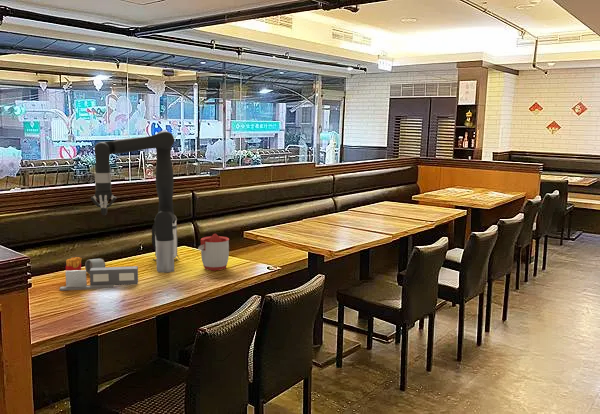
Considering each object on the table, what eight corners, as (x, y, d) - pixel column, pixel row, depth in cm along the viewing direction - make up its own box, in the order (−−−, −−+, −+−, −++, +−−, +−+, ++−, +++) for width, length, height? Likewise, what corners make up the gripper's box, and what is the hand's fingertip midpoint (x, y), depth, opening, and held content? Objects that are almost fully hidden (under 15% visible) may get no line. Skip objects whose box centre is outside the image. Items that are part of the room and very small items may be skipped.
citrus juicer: (193, 267, 299) (193, 232, 296) (221, 263, 309) (221, 229, 306) (204, 274, 286) (204, 237, 284) (234, 270, 296) (234, 234, 293)
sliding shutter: (86, 285, 258) (86, 269, 256) (86, 286, 256) (85, 270, 255) (66, 286, 256) (65, 270, 254) (66, 287, 254) (65, 271, 253)
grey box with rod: (138, 281, 270) (137, 266, 269) (136, 287, 261) (136, 271, 260) (63, 284, 262) (63, 269, 261) (59, 290, 253) (58, 274, 252)
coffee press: (181, 256, 324) (180, 207, 320) (177, 263, 308) (176, 211, 304) (152, 256, 323) (151, 207, 319) (146, 263, 307) (145, 211, 303)
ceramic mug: (106, 272, 286) (106, 258, 285) (92, 275, 280) (92, 261, 279) (95, 269, 293) (95, 255, 292) (81, 272, 286) (81, 258, 285)
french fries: (70, 284, 264) (69, 260, 262) (64, 282, 266) (63, 259, 264) (84, 280, 271) (83, 256, 270) (78, 278, 273) (77, 255, 271)
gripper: (117, 180, 278) (118, 213, 281) (90, 180, 275) (91, 214, 278) (115, 182, 271) (116, 216, 274) (88, 182, 268) (89, 216, 271)
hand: (104, 215), depth 276 cm, fingers closed
